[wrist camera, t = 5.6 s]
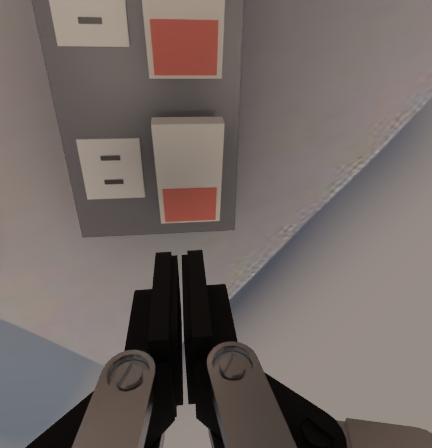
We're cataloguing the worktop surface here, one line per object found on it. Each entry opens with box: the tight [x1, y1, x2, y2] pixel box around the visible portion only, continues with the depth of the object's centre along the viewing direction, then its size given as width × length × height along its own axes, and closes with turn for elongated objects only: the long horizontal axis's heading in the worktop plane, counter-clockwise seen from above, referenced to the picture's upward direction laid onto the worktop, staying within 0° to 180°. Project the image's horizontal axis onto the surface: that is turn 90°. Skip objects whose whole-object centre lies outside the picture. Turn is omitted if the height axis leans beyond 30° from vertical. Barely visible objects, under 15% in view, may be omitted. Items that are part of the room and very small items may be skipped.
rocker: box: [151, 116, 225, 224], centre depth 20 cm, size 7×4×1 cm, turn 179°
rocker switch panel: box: [32, 0, 244, 237], centre depth 18 cm, size 28×11×4 cm, turn 0°
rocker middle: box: [142, 0, 225, 79], centre depth 16 cm, size 7×4×1 cm, turn 179°
